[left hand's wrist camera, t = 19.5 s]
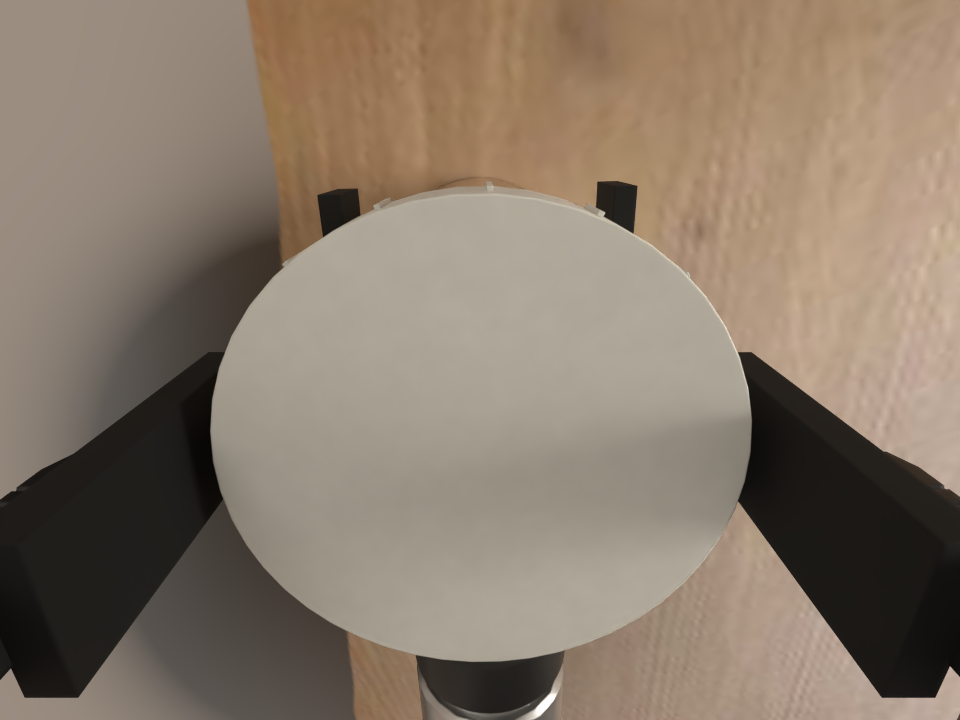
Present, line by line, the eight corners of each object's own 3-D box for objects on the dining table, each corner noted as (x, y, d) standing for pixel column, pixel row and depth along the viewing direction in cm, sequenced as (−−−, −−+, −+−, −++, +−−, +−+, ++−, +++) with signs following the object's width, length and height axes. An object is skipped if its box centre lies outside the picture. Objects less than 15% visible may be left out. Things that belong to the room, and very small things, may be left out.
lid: (809, 277, 11) (869, 301, 9) (607, 640, 14) (624, 704, 13) (292, 104, 9) (253, 94, 8) (219, 549, 13) (182, 605, 12)
